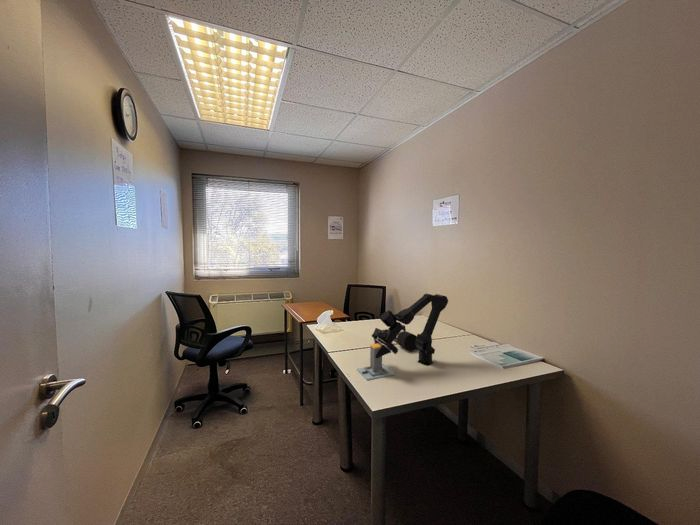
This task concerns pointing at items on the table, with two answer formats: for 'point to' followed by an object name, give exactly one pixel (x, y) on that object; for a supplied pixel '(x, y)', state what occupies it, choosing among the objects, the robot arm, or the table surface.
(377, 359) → the brick
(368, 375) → the charging dock
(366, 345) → the table surface
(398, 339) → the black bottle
